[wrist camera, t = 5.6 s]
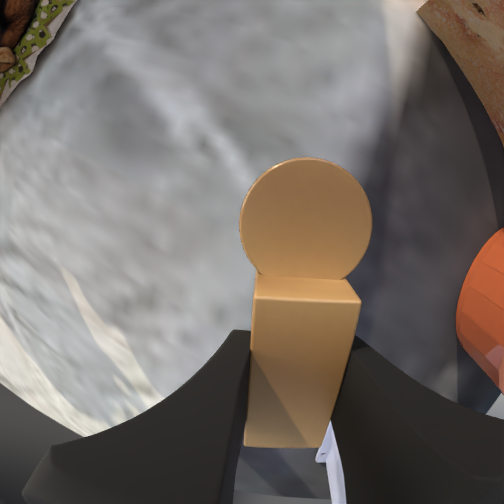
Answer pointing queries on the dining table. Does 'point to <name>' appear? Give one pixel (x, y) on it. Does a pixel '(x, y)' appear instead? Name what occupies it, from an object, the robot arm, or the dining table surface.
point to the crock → (484, 310)
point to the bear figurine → (26, 36)
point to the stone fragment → (474, 46)
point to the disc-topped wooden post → (301, 296)
